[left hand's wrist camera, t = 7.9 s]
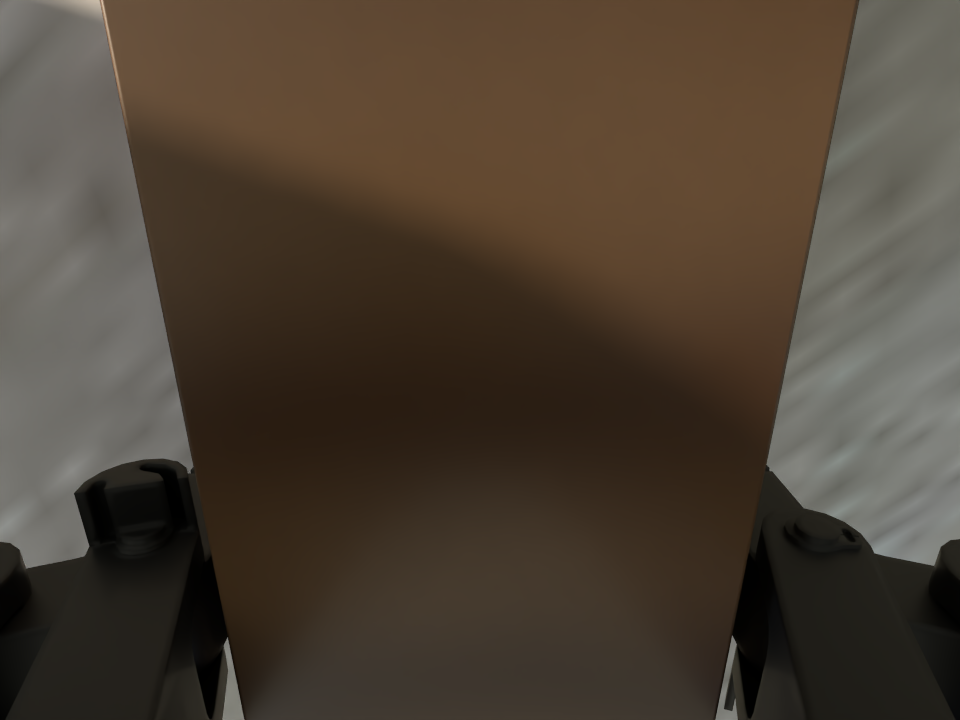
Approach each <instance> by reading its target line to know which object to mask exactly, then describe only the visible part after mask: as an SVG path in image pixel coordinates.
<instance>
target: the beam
mask: <svg viewBox="0 0 960 720" xmlns="http://www.w3.org/2000/svg"><path fill="white" fill-rule="evenodd" d="M100 4H101V9H102V14H103V18H104V23H105V28H106V33H107V38H108V43H109V48H110V53H111V58H112V63H113V68H114V73H115V78H116V83H117V88H118V93H119V98H120V103H121V108H122V113H123V118H124V123H125V128H126V133H127V138H128V143H129V148H130V153H131V158H132V163H133V168H134V173H135V178H136V183H137V188H138V193H139V197H140V202H141V207H142V212H143V217H144V222H145V227H146V232H147V237H148V242H149V247H150V252H151V257H152V262H153V267H154V272H155V277H156V282H157V287H158V292H159V297H160V302H161V307H162V312H163V317H164V322H165V327H166V332H167V337H168V342H169V347H170V352H171V357H172V362H173V367H174V371H175V376H176V381H177V386H178V391H179V396H180V401H181V406H182V411H183V416H184V421H185V426H186V431H187V436H188V441H189V446H190V451H191V456H192V461H193V466H194V471H195V476H196V481H197V486H198V491H199V496H200V501H201V506H202V511H203V516H204V521H205V526H206V531H207V536H208V541H209V546H210V550H211V555H212V560H213V565H214V570H215V575H216V580H217V585H218V590H219V595H220V600H221V605H222V610H223V615H224V620H225V625H226V630H227V635H228V640H229V645H230V650H231V655H232V660H233V665H234V670H235V675H236V680H237V685H238V690H239V695H240V700H241V705H242V710H243V715H244V720H715V718H716V713H717V708H718V703H719V698H720V693H721V688H722V683H723V678H724V673H725V668H726V663H727V658H728V653H729V648H730V643H731V638H732V633H733V628H734V623H735V618H736V613H737V608H738V603H739V598H740V593H741V588H742V583H743V578H744V573H745V568H746V563H747V558H748V553H749V548H750V543H751V538H752V533H753V528H754V523H755V518H756V513H757V508H758V503H759V498H760V493H761V488H762V483H763V478H764V473H765V468H766V463H767V458H768V453H769V448H770V443H771V438H772V433H773V428H774V423H775V418H776V413H777V408H778V403H779V398H780V393H781V388H782V383H783V378H784V373H785V368H786V363H787V358H788V353H789V348H790V343H791V338H792V333H793V328H794V323H795V318H796V313H797V308H798V303H799V298H800V293H801V288H802V283H803V278H804V273H805V268H806V263H807V258H808V253H809V248H810V243H811V238H812V233H813V228H814V223H815V218H816V213H817V208H818V203H819V198H820V193H821V188H822V183H823V178H824V173H825V168H826V163H827V158H828V153H829V148H830V143H831V138H832V133H833V128H834V123H835V118H836V113H837V108H838V103H839V98H840V93H841V88H842V83H843V78H844V73H845V68H846V63H847V58H848V53H849V48H850V43H851V38H852V33H853V29H854V24H855V19H856V14H857V9H858V4H859V0H100Z"/></svg>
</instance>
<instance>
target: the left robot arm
mask: <svg viewBox="0 0 960 720" xmlns="http://www.w3.org/2000/svg"><path fill="white" fill-rule="evenodd" d="M74 495H75V498H76V502H77V505H78V508H79V512H80V515H81V519H82V522H83V526H84V529H85V532H86V536H87V539H88V543H89V546H90V547H89V549H88V551H87V553H86V555H85V556H84V557H80V558H77V559H72V560H67V561H62V562H57V563H52V564H47V565H42V566H37V567H32V568H27V569H26V567H25V564H24V561H23V559H22V556H21V553H20V550H19V549H18V548H16V547H15V546H13V545H12V544H11V543H4V542H0V720H222V717H223V709H224V700H225V692H226V684H227V675H228V668H227V661H226V655H225V651H224V646H223V645H224V643H225V641H226V639H227V637H228V635H227V630H226V625H225V620H224V615H223V610H222V605H221V600H220V595H219V590H218V585H217V580H216V575H215V570H214V565H213V560H212V555H211V550H210V546H209V541H208V536H207V531H206V526H205V521H204V516H203V511H202V506H201V501H200V496H199V491H198V486H197V481H196V476H195V471H194V467H193V468H192V469H191V474H188V473H187V468H186V467H184V466H183V465H182V464H180V463H179V462H177V461H172V460H167V459H146V460H139V461H135V462H130V463H125V464H121V465H119V466H116V467H114V468H111V469H108V470H106V471H103V472H101V473H99V474H97V475H96V476H94V477H92V478H91V479H89V480H87V481H86V482H84V483H83V484H82V486H81V487H80V488H79V489H78V490H77V491H76V492H75V493H74ZM732 635H733V637H734V639H735V641H736V643H737V646H736V651H735V655H734V660H733V665H732V670H731V675H730V679H729V684H728V689H727V694H726V700H725V706H724V709H726V710H731V711H732V710H733V705H734V700H735V699H736V707H737V716H738V720H960V539H958V540H950V541H949V542H947V543H946V544H944V545H943V546H942V547H941V548H940V551H939V554H938V557H937V560H936V563H935V566H931V565H926V564H921V563H916V562H911V561H906V560H901V559H896V558H891V557H886V556H882V555H878V554H874V552H873V550H872V548H871V546H870V545H869V543H868V542H867V541H866V540H865V538H864V537H863V536H862V535H861V533H859V532H858V531H856V530H855V529H854V528H852V527H851V526H849V525H848V524H846V523H845V522H843V521H841V520H838V519H836V518H834V517H832V516H829V515H827V514H824V513H820V512H816V511H812V510H808V509H804V508H803V507H802V506H801V505H800V504H799V502H798V501H797V500H796V499H795V498H794V497H793V495H792V494H791V493H790V492H789V491H788V490H787V488H786V487H785V486H784V485H783V484H782V482H781V481H780V480H779V479H778V478H777V477H776V475H775V474H774V473H773V472H772V471H769V467H768V466H767V465H766V468H765V473H764V478H763V483H762V488H761V493H760V498H759V503H758V508H757V513H756V518H755V523H754V528H753V533H752V538H751V543H750V548H749V553H748V558H747V563H746V568H745V573H744V578H743V583H742V588H741V593H740V598H739V603H738V608H737V613H736V618H735V623H734V628H733V633H732Z"/></svg>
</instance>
